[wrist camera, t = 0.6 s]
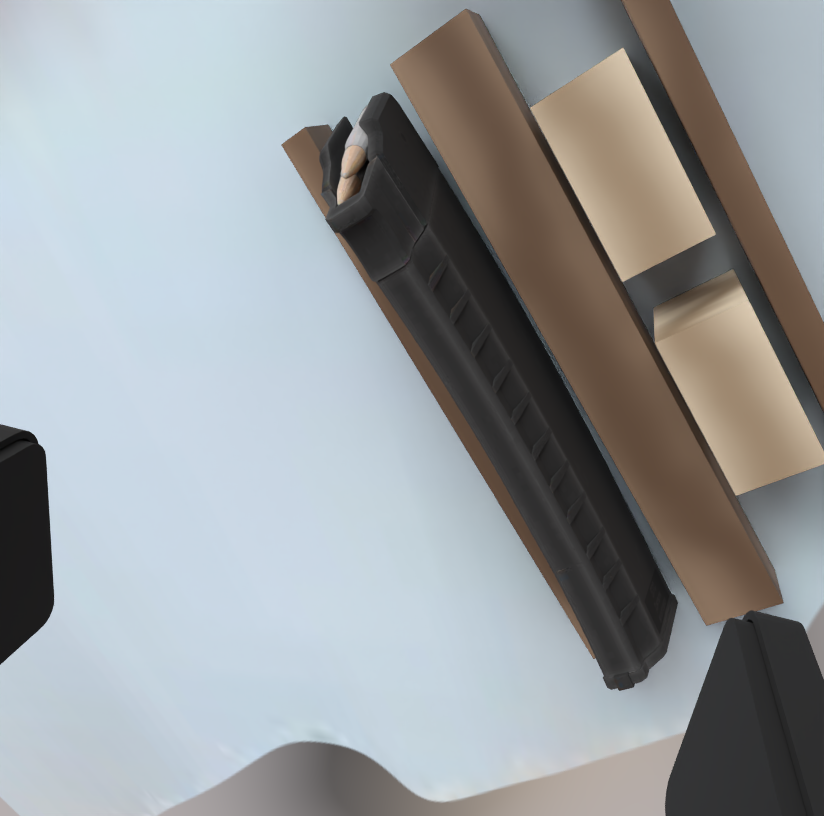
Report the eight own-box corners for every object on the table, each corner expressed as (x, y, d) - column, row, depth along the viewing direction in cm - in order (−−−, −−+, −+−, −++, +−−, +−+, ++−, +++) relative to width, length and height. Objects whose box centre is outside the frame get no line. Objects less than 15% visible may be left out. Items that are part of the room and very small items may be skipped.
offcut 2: (733, 268, 36) (748, 299, 31) (803, 409, 38) (829, 462, 32) (653, 307, 38) (655, 343, 33) (723, 440, 39) (735, 495, 34)
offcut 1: (626, 53, 34) (623, 47, 29) (705, 212, 36) (716, 234, 30) (546, 104, 36) (529, 107, 30) (625, 254, 37) (622, 282, 32)
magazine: (707, 741, 36) (315, 226, 22) (642, 755, 37) (234, 277, 24) (656, 490, 49) (392, 75, 36) (609, 507, 51) (338, 113, 37)
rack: (621, -89, 32) (619, -105, 29) (915, 525, 38) (936, 558, 36) (305, 140, 39) (281, 144, 37) (596, 625, 46) (593, 658, 43)
